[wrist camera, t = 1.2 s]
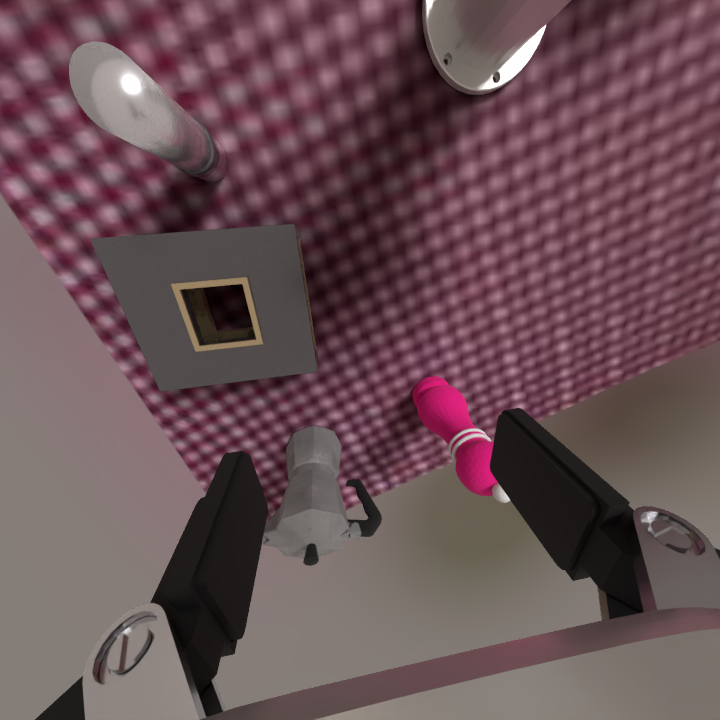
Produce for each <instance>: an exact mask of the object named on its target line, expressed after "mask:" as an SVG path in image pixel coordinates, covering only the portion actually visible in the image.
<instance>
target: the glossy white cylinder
mask: <svg viewBox="0 0 720 720" xmlns="http://www.w3.org/2000/svg"><path fill="white" fill-rule="evenodd" d="M69 77H70V83H71V87H72V90H73V92H74V95H75V97H76V99H77V101H78V103H79V104H80V106H81V107H82V109H83V110H84V112H85V113H86V114H87V115H88V116H89V117H90V118H91V119H92V121H94V122H95V123H96V124H97V125H98V126H100V127H101V128H103V129H104V130H106V131H108V132H110V133H112V134H114V135H116V136H118V137H120V138H122V139H124V140H126V141H128V142H130V143H131V144H133V145H135V146H137V147H139V148H141V149H143V150H145V151H147V152H149V153H151V154H153V155H155V156H157V157H159V158H161V159H163V160H165V161H167V162H169V163H171V164H173V165H174V166H175V167H176V168H178V169H179V170H181V171H183V172H185V173H187V174H189V175H191V176H194V177H199V178H201V179H202V180H205V181H208V182H216V181H219V180H221V179H222V178H223V177H224V176H225V174H226V172H227V169H228V160H227V156H226V153H225V151H224V149H223V147H222V146H221V145H220V144H219V143H218V142H217V141H216V140H215V139H214V138H213V136H212V134H211V133H210V132H209V131H208V130H207V129H206V128H205V127H204V126H203V125H202V124H201V123H200V122H199V121H198V120H197V119H195V118H194V117H192V116H190V115H189V114H188V113H187V112H186V111H185V110H184V109H183V108H182V107H181V106H180V105H178V104H177V103H176V102H175V101H174V100H173V99H172V98H171V97H170V96H169V95H168V94H167V93H166V92H165V91H164V90H163V89H162V88H161V87H160V86H159V85H157V84H156V83H155V82H154V81H153V80H152V79H151V78H150V77H149V76H148V75H147V74H146V73H145V72H144V71H143V70H142V69H141V68H140V67H139V66H137V65H136V64H135V63H134V62H133V61H132V60H131V59H130V58H129V57H128V56H127V55H126V54H124V53H123V52H122V51H120V50H119V49H117V48H115V47H114V46H112V45H109V44H106V43H102V42H88V43H85V44H83V45H81V46H80V47H78V48H77V49H76V51H75V52H74V53H73V55H72V57H71V61H70V66H69Z"/></svg>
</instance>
